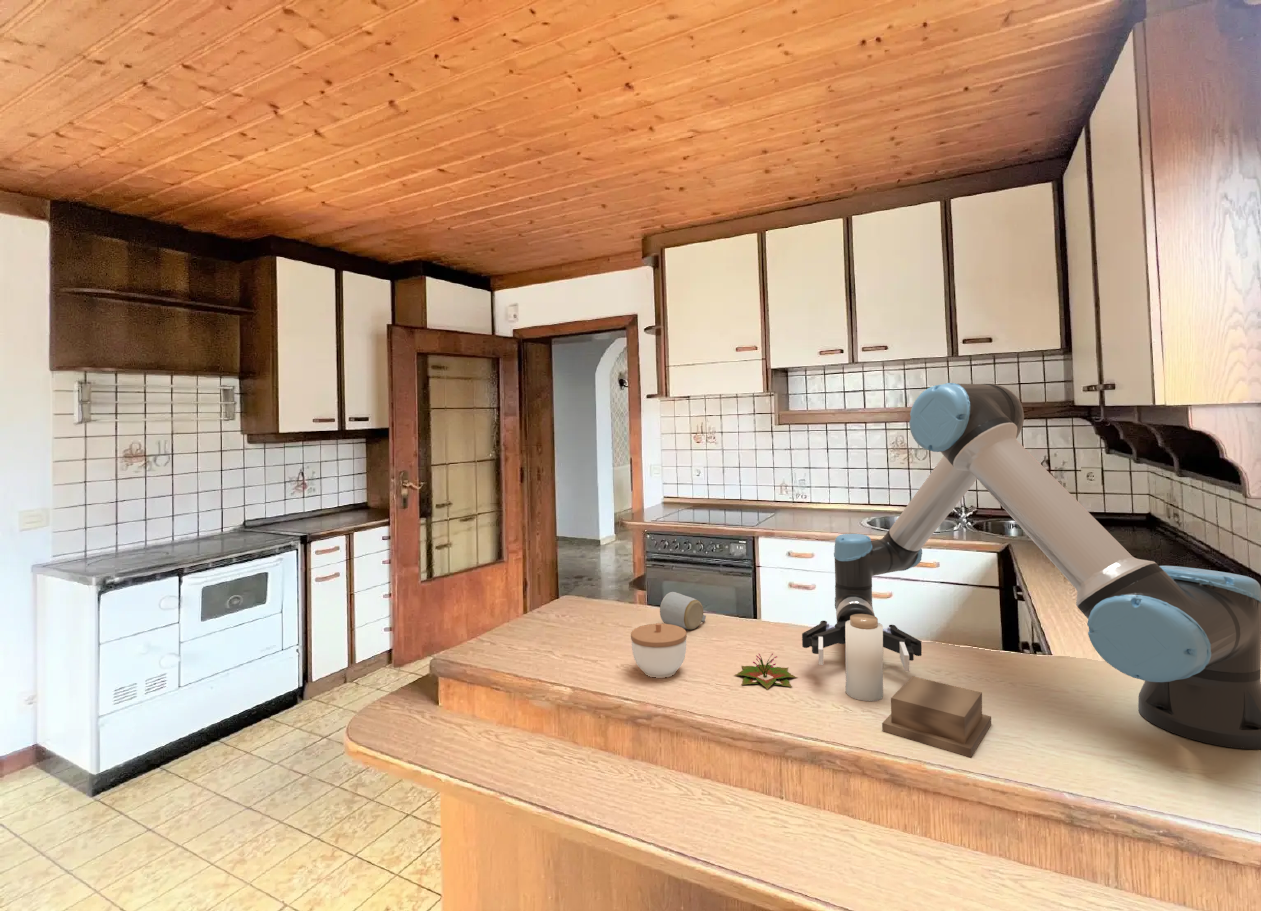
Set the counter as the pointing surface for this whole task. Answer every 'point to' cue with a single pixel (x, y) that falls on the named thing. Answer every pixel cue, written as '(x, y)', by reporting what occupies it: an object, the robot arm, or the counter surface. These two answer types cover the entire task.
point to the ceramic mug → (681, 611)
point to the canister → (864, 657)
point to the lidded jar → (659, 648)
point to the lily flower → (765, 674)
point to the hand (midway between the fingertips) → (863, 660)
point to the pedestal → (938, 715)
